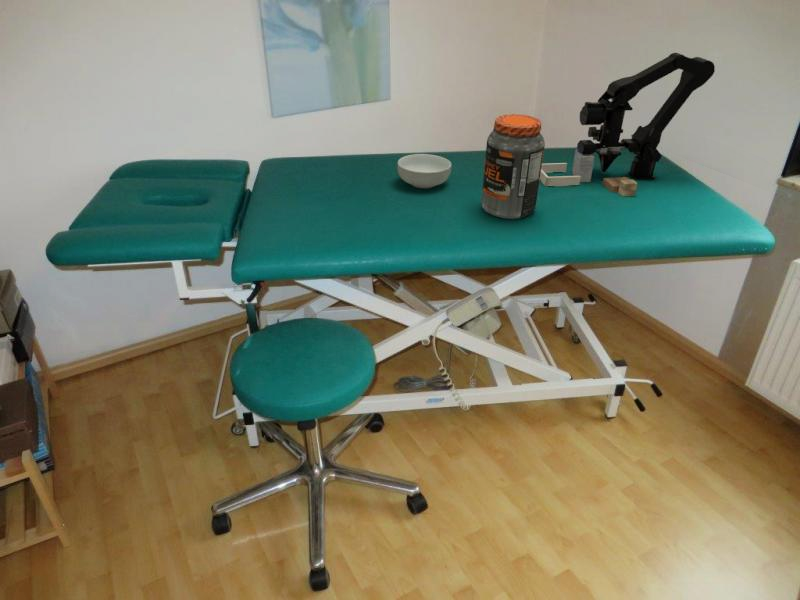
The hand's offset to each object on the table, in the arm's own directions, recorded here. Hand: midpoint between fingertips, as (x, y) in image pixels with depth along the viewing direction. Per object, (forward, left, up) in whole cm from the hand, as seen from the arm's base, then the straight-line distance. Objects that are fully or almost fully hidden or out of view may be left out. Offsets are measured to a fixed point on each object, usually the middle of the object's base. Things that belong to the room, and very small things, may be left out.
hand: (603, 171), depth 197 cm
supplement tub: (+38, +22, -2) cm, 44 cm away
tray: (+16, 0, -2) cm, 16 cm away
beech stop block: (-2, +14, -2) cm, 15 cm away
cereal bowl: (+59, 0, -2) cm, 59 cm away
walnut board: (-2, +9, -2) cm, 9 cm away
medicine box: (+7, 0, -2) cm, 8 cm away
